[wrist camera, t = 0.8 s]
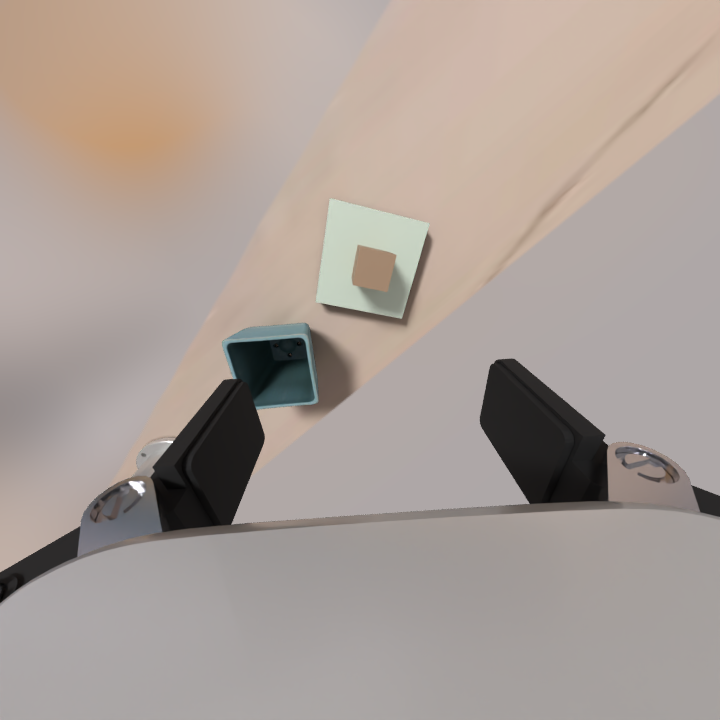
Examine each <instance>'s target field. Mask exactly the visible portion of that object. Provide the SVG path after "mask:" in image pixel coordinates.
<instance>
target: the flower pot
mask: <svg viewBox="0 0 720 720" xmlns="http://www.w3.org/2000/svg"><path fill="white" fill-rule="evenodd" d="M298 342H301V345H298ZM274 344H278V347H275V346H274ZM222 347H223V351H224V353H225V356H226V359H227V362H228V365H229V368H230V371H231V374H232V377H233V379H242V381H243V382H246V383H247V384H248V386H249V389H250V392H251V395H252V398H253V401H254V404H255V407H256V410H258V409H266V408H276V407H287V406H299V405H312V404H316V403H318V400H319V399H318V378H317V372H316V365H315V359H314V353H313V347H312V340H311V333H310V327H309V325H308V324H306V323H297V324H286V325H273V326H259V327H250V328H246V329H243V330H241V331H240V332H238V333H236V334H234V335H232V336H230V337H229V338H227V339H225V340H223V341H222ZM289 353H291V354H292V356H289V355H288V354H289Z"/></svg>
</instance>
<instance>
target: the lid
mask: <svg viewBox="0 0 720 720" xmlns="http://www.w3.org/2000/svg"><path fill="white" fill-rule="evenodd" d="M429 224H430V223H426V222H422V221H418V220H414V219H410V218H406V217H402V216H399V215H395V214H391V213H387V212H383V211H379V210H375V209H371V208H367V207H363V206H359V205H355V204H351V203H347V202H343V201H339V200H335V199H331V198H330V202H329V209H328V216H327V223H326V231H325V238H324V245H323V252H322V260H321V267H320V274H319V281H318V289H317V296H316V302H318V303H323V304H328V305H333V306H339V307H344V308H349V309H354V310H359V311H364V312H370V313H375V314H380V315H385V316H390V317H395V318H400V319H402V317H403V313H404V310H405V306H406V303H407V299H408V296H409V293H410V289H411V286H412V282H413V279H414V275H415V272H416V269H417V265H418V262H419V258H420V255H421V251H422V248H423V245H424V241H425V238H426V234H427V231H428V227H429Z"/></svg>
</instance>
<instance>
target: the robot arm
mask: <svg viewBox="0 0 720 720" xmlns="http://www.w3.org/2000/svg"><path fill="white" fill-rule="evenodd" d="M480 424H481V427H482V429H483V430H484V432H485V434H486V435H487V437H488V438H489V440H490V441H491V443H492V445H493V446H494V448H495V449H496V451H497V453H498V454H499V456H500V457H501V459H502V460H503V462H504V464H505V465H506V467H507V468H508V470H509V472H510V473H511V475H512V476H513V478H514V479H515V481H516V483H517V484H518V486H519V487H520V489H521V490H522V492H523V494H524V495H525V496H526V498H527V500H528V501H529V503H530V504H523V505H506V506H490V507H476V508H459V509H443V510H428V511H413V512H399V513H384V514H370V515H354V516H342V517H341V516H340V517H326V518H313V519H300V520H286V521H272V522H259V523H245V524H234V525H231V523H232V521H233V519H234V516H235V514H236V511H237V509H238V506H239V504H240V501H241V499H242V496H243V494H244V491H245V489H246V486H247V484H248V481H249V479H250V476H251V474H252V471H253V469H254V466H255V464H256V461H257V459H258V457H259V454H260V452H261V449H262V447H263V444H264V440H265V436H264V432H263V429H262V425H261V422H260V419H259V416H258V413H257V410H256V407H255V404H254V401H253V398H252V395H251V392H250V389H249V386H248V384H247V383H246V382H243V381H242V379H228V380H224V381H222V383H221V384H220V385H219V386H218V388H217V389H216V390H215V391H214V392H213V394H212V395H211V396H210V397H209V399H208V400H207V401H206V402H205V403H204V405H203V406H202V407H201V408H200V409H199V411H198V412H197V413H196V414H195V416H194V417H193V418H192V419H191V420H190V422H189V423H188V424H187V425H186V427H185V428H184V429H183V430H182V431H181V433H180V434H179V435H178V436H177V438H161V439H157V440H154V441H152V442H150V443H148V444H147V445H146V446H145V447H144V448H143V449H142V450H141V451H140V452H139V453H138V456H137V459H136V464H137V468H138V470H137V471H136V472H135V473H134V475H133V476H132V477H131V478H128V479H125V480H123V481H120V482H118V483H116V484H115V485H113V486H111V487H110V488H108V489H107V490H105V491H104V492H103V493H101V494H100V495H99V496H97V497H96V498H95V499H94V500H93V501H92V502H91V503H90V504H89V506H88V507H87V509H86V510H85V511H84V513H83V516H82V519H81V526H80V527H78V528H77V529H75V530H73V531H71V532H70V533H68V534H66V535H64V536H63V537H61V538H59V539H58V540H56V541H54V542H52V543H51V544H49V545H47V546H46V547H44V548H42V549H40V550H38V551H37V552H35V553H33V554H31V555H30V556H28V557H26V558H24V559H23V560H21V561H19V562H18V563H16V564H14V565H12V566H11V567H9V568H7V569H5V570H4V571H2V572H0V720H720V496H718V495H716V494H713V493H710V492H708V491H705V490H702V489H700V488H697V487H695V486H692V485H691V483H690V479H689V477H688V476H687V474H686V472H685V471H684V470H683V469H682V468H681V467H680V466H679V465H678V464H677V463H676V462H674V461H673V460H671V459H670V458H668V457H667V456H665V455H663V454H661V453H659V452H657V451H655V450H653V449H650V448H648V447H645V446H642V445H638V444H634V443H628V442H617V443H613V444H611V445H609V446H608V445H607V444H606V443H605V442H604V441H603V439H604V437H605V434H604V433H602V432H601V431H600V430H599V429H598V428H596V427H595V426H594V425H593V424H592V423H591V422H589V421H588V420H587V419H586V418H585V417H583V416H582V415H581V414H580V413H578V412H577V411H576V410H575V409H574V408H572V407H571V406H570V405H569V404H568V403H567V402H565V401H564V400H563V399H562V398H561V397H559V396H558V395H557V394H556V393H555V392H553V391H552V390H551V389H550V388H549V387H547V386H546V385H545V384H544V383H543V382H541V381H540V380H539V379H538V378H537V377H535V376H534V375H533V374H532V373H531V372H529V371H528V370H527V369H526V368H525V367H523V366H522V365H521V364H520V363H518V361H516V360H515V359H501V360H496V361H495V363H494V364H492V365H491V366H490V369H489V374H488V379H487V384H486V390H485V395H484V400H483V405H482V410H481V415H480Z"/></svg>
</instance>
